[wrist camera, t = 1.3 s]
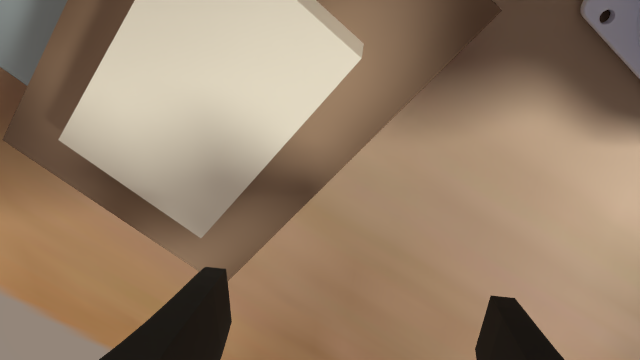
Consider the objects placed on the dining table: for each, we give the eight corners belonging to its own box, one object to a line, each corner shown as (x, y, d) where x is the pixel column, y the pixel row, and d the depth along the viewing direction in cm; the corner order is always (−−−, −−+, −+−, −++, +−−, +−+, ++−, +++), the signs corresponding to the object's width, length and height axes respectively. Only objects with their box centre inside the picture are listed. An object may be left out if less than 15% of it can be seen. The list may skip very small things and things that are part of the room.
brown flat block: (476, -5, 17) (502, 10, 13) (244, 236, 24) (222, 286, 20) (247, -240, 14) (205, -297, 11) (63, 106, 21) (2, 140, 18)
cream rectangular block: (363, 43, 14) (361, 58, 13) (218, 210, 18) (200, 238, 17) (213, -93, 13) (188, -98, 11) (91, 119, 17) (58, 139, 15)
